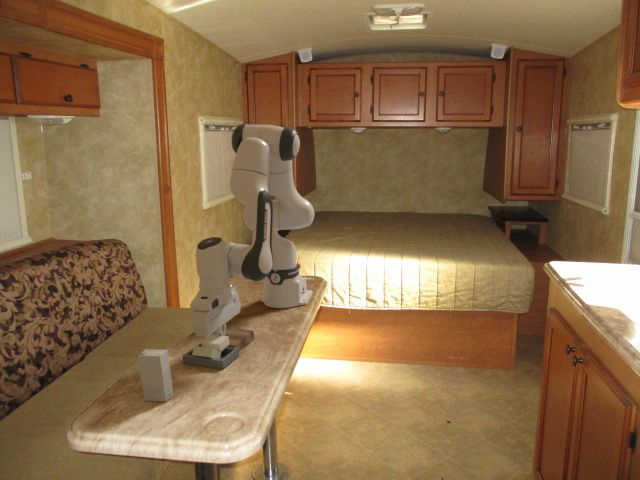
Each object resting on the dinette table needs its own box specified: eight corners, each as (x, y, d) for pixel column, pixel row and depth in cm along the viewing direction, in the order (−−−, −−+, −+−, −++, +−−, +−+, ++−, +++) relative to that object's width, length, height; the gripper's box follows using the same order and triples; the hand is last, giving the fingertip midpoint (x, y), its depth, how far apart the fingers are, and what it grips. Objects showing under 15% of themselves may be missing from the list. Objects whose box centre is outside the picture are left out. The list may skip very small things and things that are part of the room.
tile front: (194, 345, 146) (191, 354, 145) (212, 348, 143) (210, 357, 143) (203, 350, 150) (200, 358, 149) (221, 352, 148) (219, 361, 147)
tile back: (211, 342, 154) (210, 334, 153) (229, 344, 152) (228, 336, 151) (202, 349, 149) (201, 341, 149) (220, 352, 147) (219, 344, 147)
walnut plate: (226, 336, 166) (225, 327, 165) (254, 339, 162) (253, 330, 162) (205, 351, 155) (204, 342, 154) (235, 355, 151) (234, 345, 151)
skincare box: (174, 394, 130) (169, 348, 127) (165, 403, 125) (161, 356, 123) (151, 392, 131) (146, 347, 128) (142, 401, 127) (137, 355, 124)
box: (200, 351, 155) (200, 343, 155) (239, 356, 151) (238, 348, 150) (183, 363, 147) (182, 355, 146) (223, 369, 142) (222, 361, 142)
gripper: (225, 282, 160) (229, 323, 163) (186, 306, 142) (192, 352, 145) (243, 283, 158) (247, 325, 161) (206, 308, 139) (212, 355, 143)
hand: (221, 338), depth 153 cm, fingers closed, pressing on tile back
